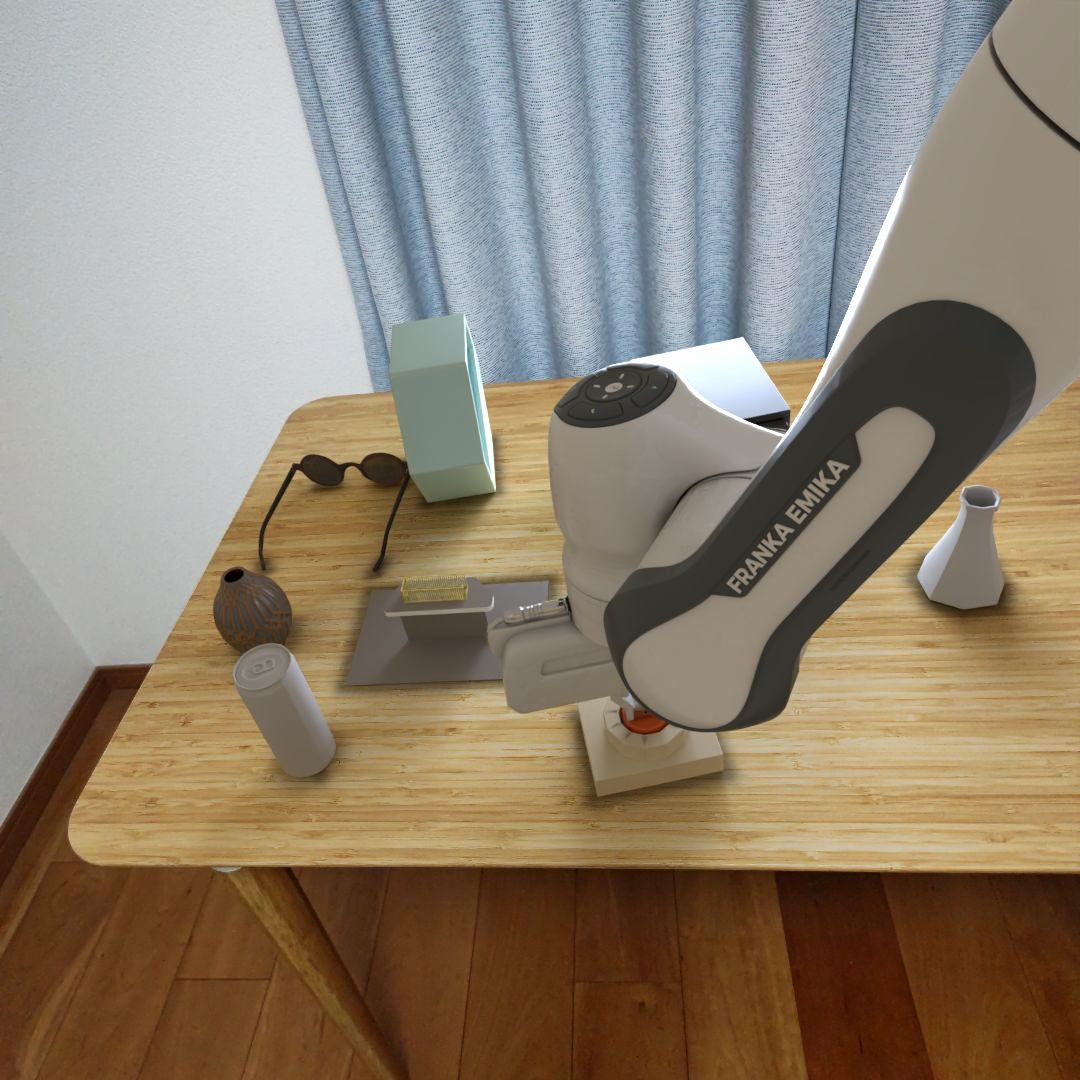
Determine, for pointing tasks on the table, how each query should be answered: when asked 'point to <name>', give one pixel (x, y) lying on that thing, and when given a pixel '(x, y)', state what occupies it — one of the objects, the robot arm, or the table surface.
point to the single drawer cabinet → (728, 379)
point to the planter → (441, 408)
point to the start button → (644, 724)
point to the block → (642, 751)
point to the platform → (435, 630)
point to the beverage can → (284, 709)
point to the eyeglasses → (331, 474)
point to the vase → (251, 610)
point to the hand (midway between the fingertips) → (643, 710)
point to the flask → (966, 555)
